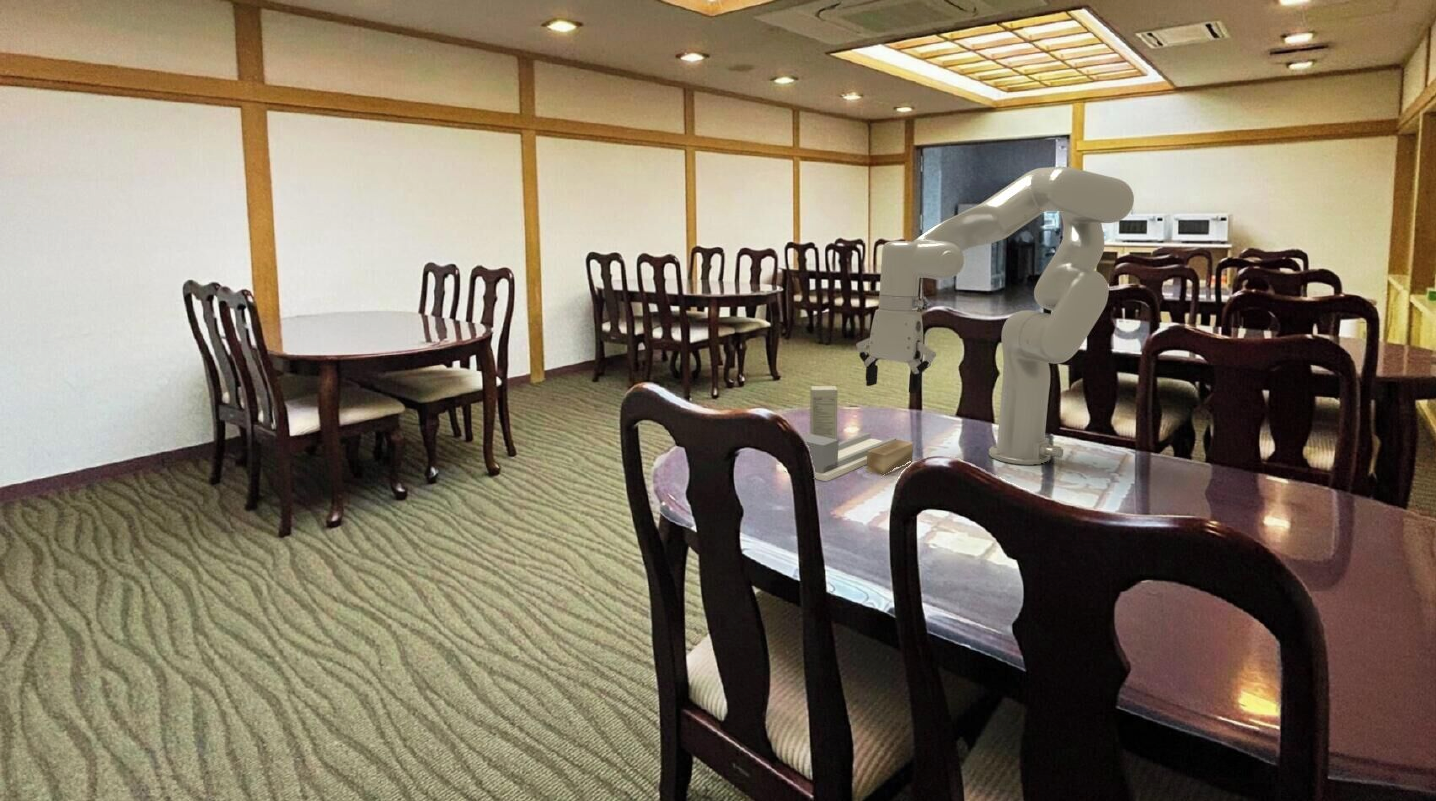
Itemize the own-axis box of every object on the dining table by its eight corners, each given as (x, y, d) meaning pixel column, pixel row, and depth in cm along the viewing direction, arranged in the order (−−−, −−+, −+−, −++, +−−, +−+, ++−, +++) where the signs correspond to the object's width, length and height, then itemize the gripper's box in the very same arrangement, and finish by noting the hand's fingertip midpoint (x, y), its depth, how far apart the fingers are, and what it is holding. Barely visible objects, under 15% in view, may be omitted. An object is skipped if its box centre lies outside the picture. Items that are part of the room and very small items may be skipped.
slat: (912, 463, 181) (913, 443, 180) (883, 476, 172) (884, 455, 171) (895, 459, 183) (896, 439, 182) (866, 472, 175) (867, 451, 174)
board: (900, 449, 190) (902, 419, 189) (826, 481, 168) (827, 447, 166) (861, 441, 196) (863, 411, 195) (784, 471, 174) (785, 438, 173)
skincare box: (836, 436, 200) (838, 385, 198) (837, 441, 196) (839, 389, 193) (808, 436, 201) (810, 385, 198) (808, 440, 197) (810, 388, 194)
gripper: (946, 306, 167) (940, 392, 171) (869, 299, 178) (864, 380, 182) (929, 309, 162) (922, 398, 166) (850, 301, 173) (845, 385, 176)
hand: (892, 388), depth 174 cm, fingers open, 9 cm apart
